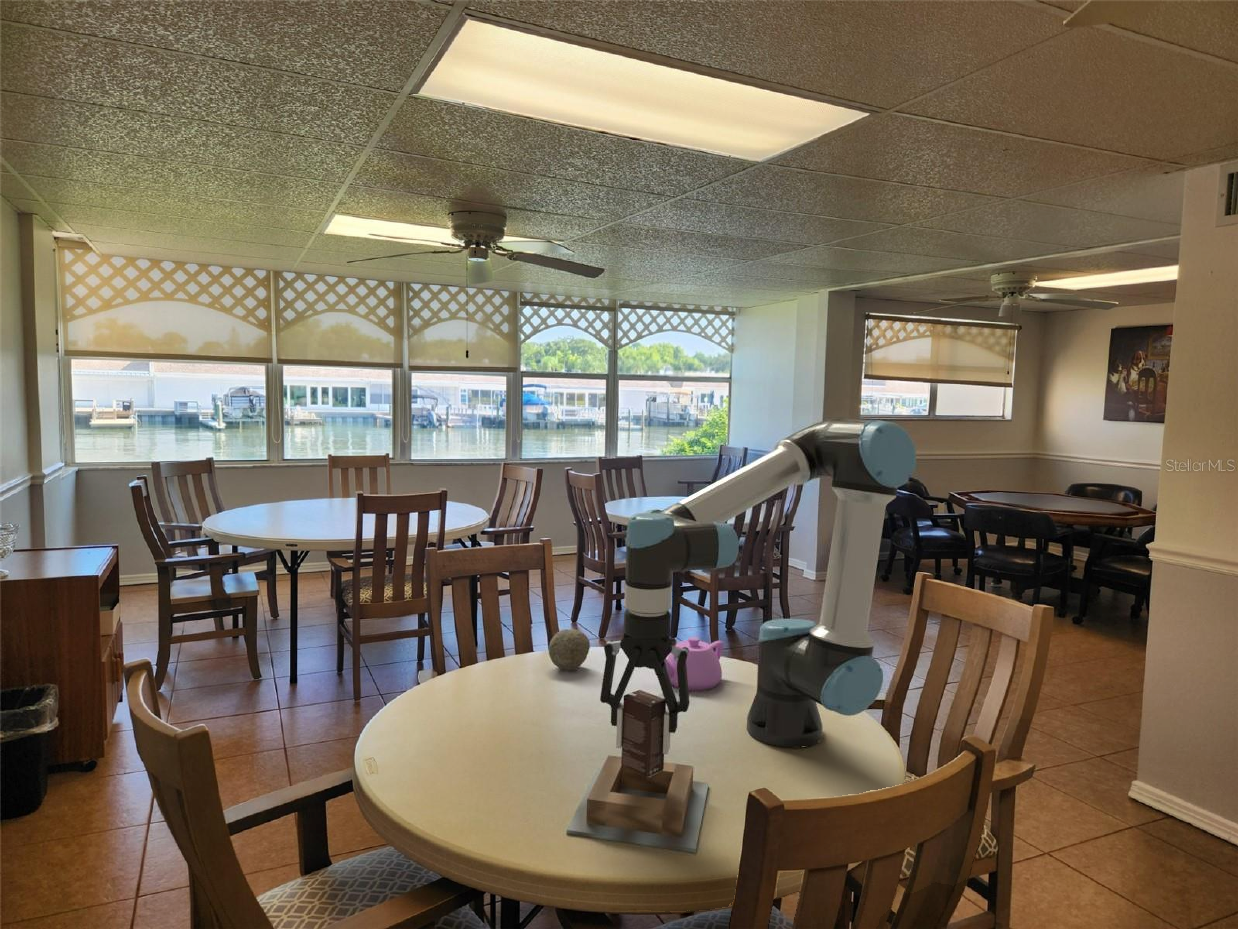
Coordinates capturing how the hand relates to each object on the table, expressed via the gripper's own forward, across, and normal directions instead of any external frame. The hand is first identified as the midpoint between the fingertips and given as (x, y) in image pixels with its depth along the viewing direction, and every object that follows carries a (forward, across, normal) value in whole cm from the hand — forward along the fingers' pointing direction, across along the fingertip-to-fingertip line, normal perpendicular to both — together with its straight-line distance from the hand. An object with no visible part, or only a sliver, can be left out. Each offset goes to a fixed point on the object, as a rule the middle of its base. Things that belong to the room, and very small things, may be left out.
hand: (643, 747), depth 123 cm
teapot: (+11, -1, -58) cm, 59 cm away
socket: (+10, 0, 0) cm, 10 cm away
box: (+4, 0, 0) cm, 4 cm away
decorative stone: (+11, +29, -58) cm, 66 cm away
